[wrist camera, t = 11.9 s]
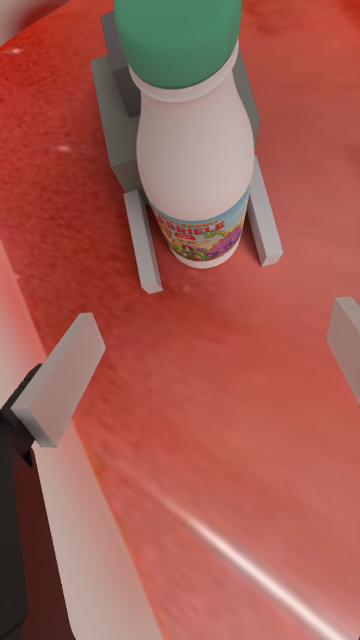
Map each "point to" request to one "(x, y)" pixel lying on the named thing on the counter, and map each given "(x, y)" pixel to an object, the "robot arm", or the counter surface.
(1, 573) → the robot arm
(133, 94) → the stacked grey blocks
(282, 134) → the counter surface
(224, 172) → the milk bottle
